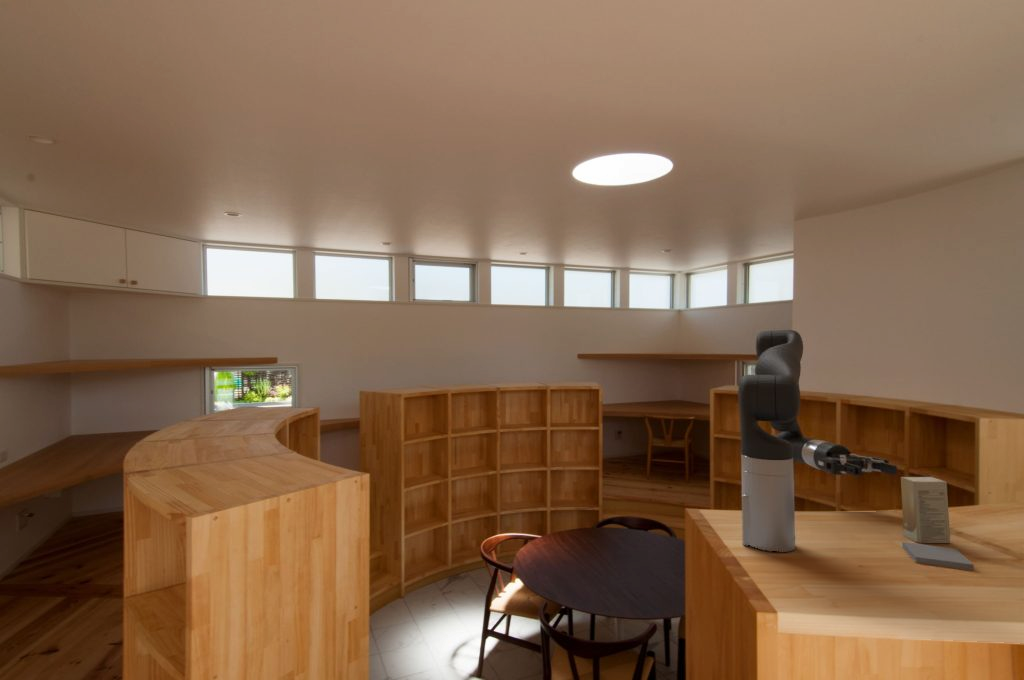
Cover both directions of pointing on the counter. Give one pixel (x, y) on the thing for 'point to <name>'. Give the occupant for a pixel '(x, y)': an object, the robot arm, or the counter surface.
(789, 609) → the counter surface
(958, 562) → the grey square slab
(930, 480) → the skincare box
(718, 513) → the counter surface
